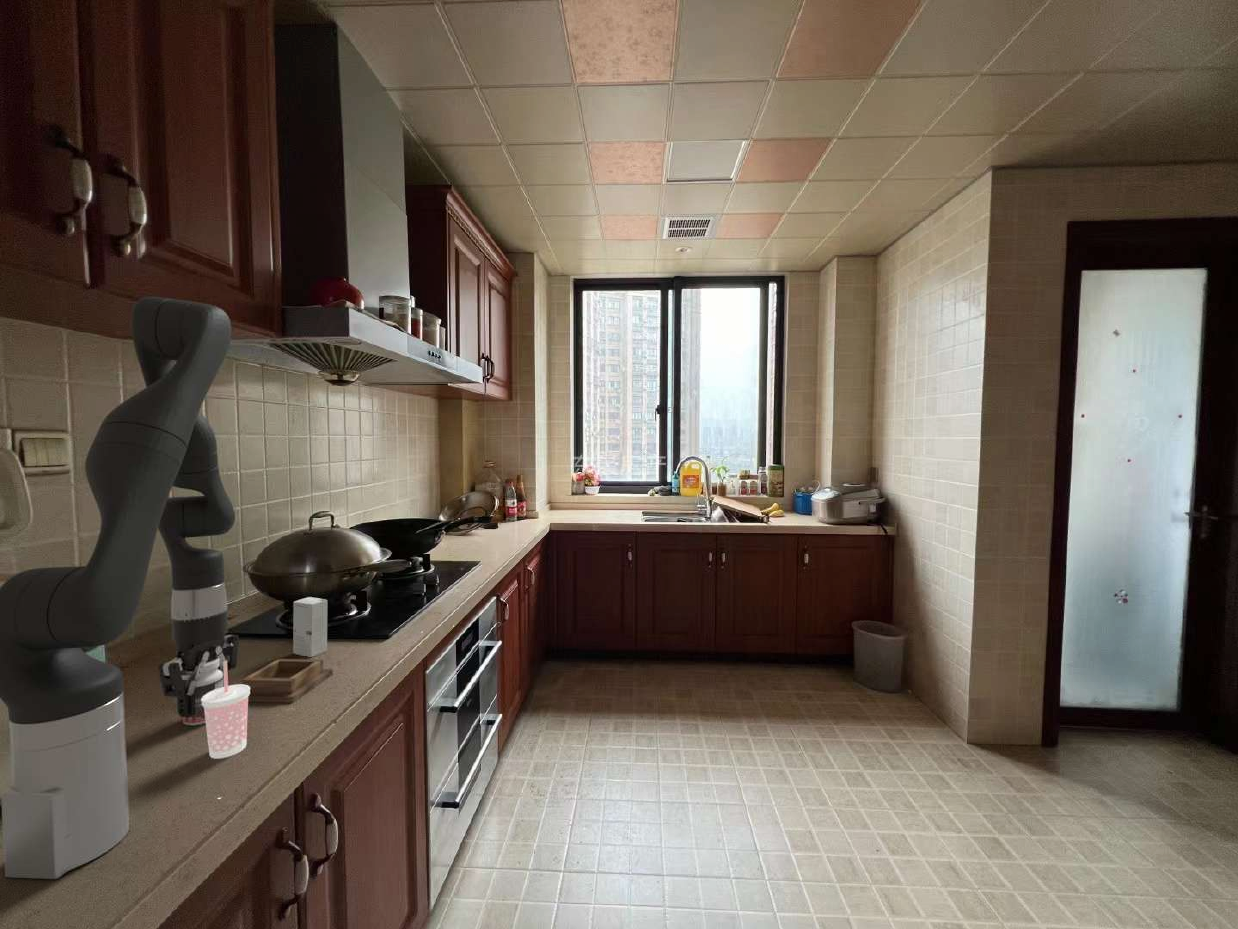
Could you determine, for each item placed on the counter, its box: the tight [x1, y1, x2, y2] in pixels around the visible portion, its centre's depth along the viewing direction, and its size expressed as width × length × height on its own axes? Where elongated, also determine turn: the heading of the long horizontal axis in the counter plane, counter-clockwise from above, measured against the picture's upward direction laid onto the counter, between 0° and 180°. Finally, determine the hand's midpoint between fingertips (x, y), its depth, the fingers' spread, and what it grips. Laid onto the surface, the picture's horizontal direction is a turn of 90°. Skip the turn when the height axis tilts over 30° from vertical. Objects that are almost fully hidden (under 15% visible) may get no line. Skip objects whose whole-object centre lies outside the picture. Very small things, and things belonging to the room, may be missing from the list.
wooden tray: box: [241, 658, 334, 703], centre depth 103 cm, size 12×12×4 cm
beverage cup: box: [201, 660, 250, 759], centre depth 81 cm, size 6×6×14 cm
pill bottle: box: [181, 659, 223, 726], centre depth 91 cm, size 6×6×10 cm
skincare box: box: [292, 596, 328, 658], centre depth 120 cm, size 6×4×12 cm
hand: (203, 706), depth 91 cm, fingers closed on pill bottle, 5 cm apart
